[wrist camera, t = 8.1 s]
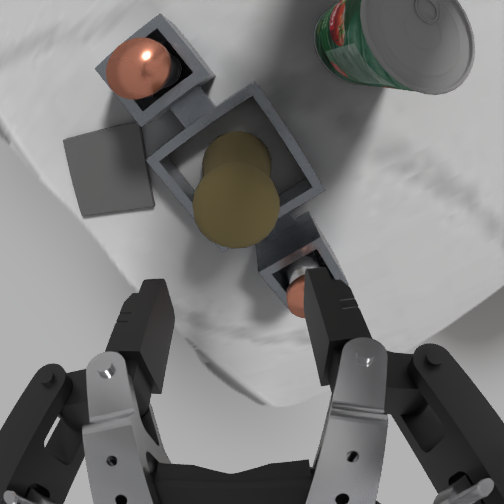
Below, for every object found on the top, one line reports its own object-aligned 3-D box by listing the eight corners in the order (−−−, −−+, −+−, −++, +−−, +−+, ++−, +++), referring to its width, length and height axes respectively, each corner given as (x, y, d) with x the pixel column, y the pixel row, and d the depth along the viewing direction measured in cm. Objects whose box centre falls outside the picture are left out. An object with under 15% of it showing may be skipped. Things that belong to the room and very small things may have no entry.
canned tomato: (386, 97, 23) (462, 116, 14) (304, 70, 22) (348, 64, 13) (403, 23, 19) (481, 11, 10) (322, -9, 18) (372, -52, 8)
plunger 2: (277, 237, 29) (287, 282, 23) (318, 234, 29) (338, 278, 23) (278, 272, 31) (287, 320, 25) (316, 269, 31) (333, 315, 25)
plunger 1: (137, 53, 20) (103, 46, 14) (185, 44, 20) (165, 31, 14) (142, 97, 22) (109, 105, 16) (189, 89, 22) (171, 93, 16)
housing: (100, 86, 21) (73, 90, 17) (198, 9, 19) (188, -6, 14) (267, 292, 34) (272, 324, 29) (353, 244, 31) (370, 272, 27)
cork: (277, 188, 27) (298, 252, 18) (212, 202, 28) (200, 273, 19) (263, 124, 24) (279, 153, 15) (194, 140, 25) (166, 181, 15)
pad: (65, 139, 24) (62, 140, 23) (140, 121, 24) (138, 122, 23) (83, 213, 28) (81, 216, 27) (154, 204, 28) (153, 206, 27)
